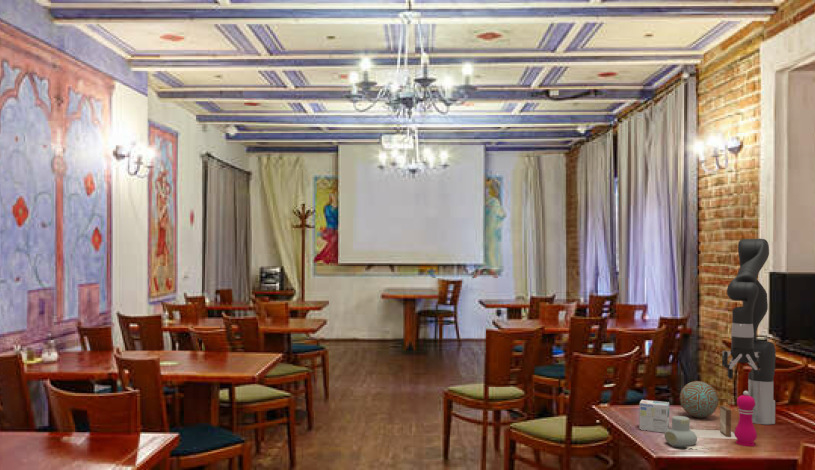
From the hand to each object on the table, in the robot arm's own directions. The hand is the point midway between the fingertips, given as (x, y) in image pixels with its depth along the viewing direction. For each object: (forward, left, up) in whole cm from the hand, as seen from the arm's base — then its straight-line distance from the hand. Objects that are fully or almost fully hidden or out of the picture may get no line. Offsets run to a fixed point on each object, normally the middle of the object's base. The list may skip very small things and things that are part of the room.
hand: (742, 379), depth 270 cm
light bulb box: (+30, -8, -22) cm, 38 cm away
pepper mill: (+3, +12, -22) cm, 26 cm away
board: (+12, 0, -22) cm, 25 cm away
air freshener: (+26, +14, -22) cm, 37 cm away
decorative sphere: (+6, -33, -22) cm, 40 cm away
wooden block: (+6, 0, -21) cm, 22 cm away
